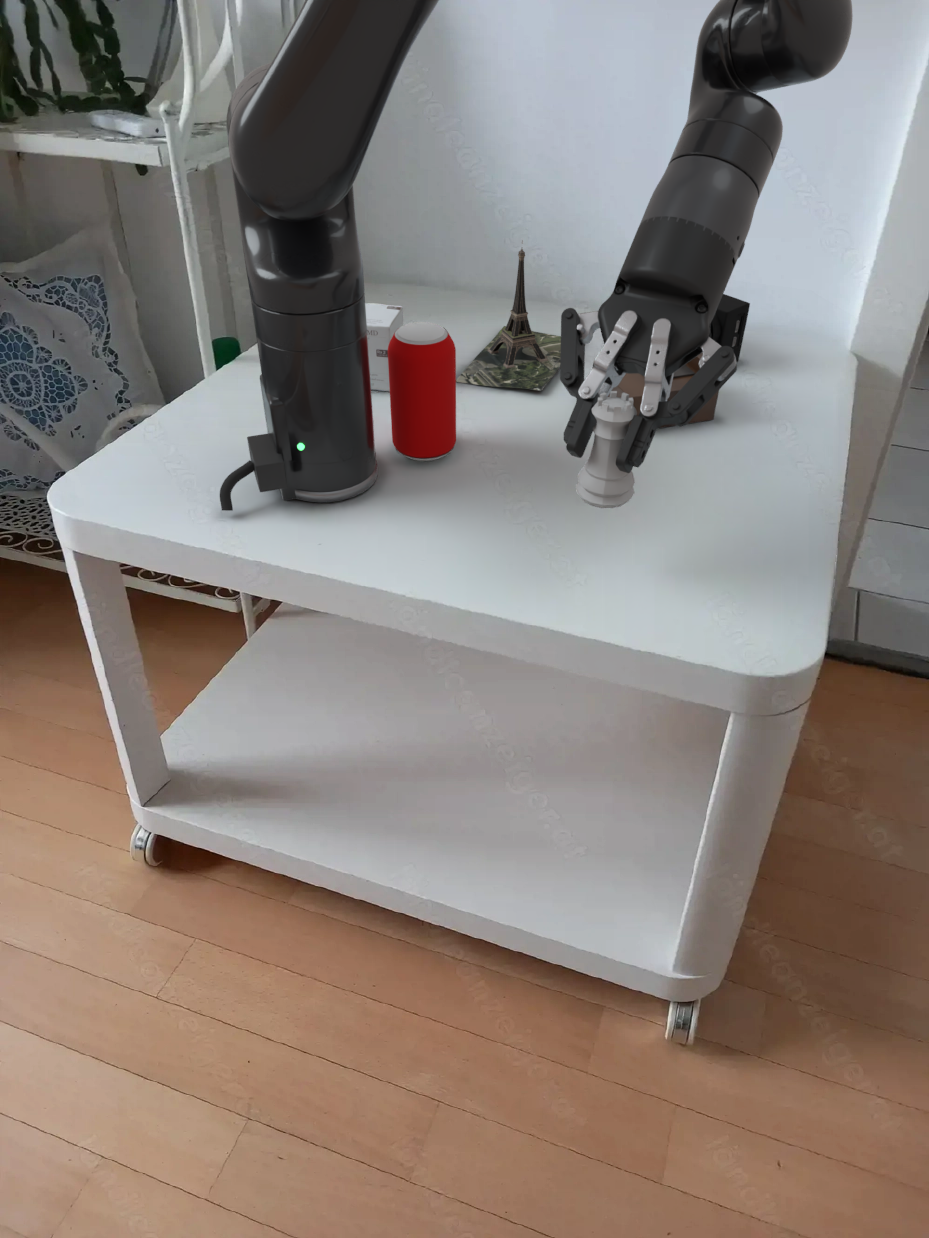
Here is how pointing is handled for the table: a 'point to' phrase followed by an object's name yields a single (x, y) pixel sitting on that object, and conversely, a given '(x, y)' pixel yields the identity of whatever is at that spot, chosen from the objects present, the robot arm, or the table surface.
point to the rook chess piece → (607, 454)
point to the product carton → (381, 340)
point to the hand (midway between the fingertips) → (598, 460)
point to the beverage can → (422, 391)
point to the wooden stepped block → (636, 384)
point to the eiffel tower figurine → (516, 351)
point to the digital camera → (730, 323)
